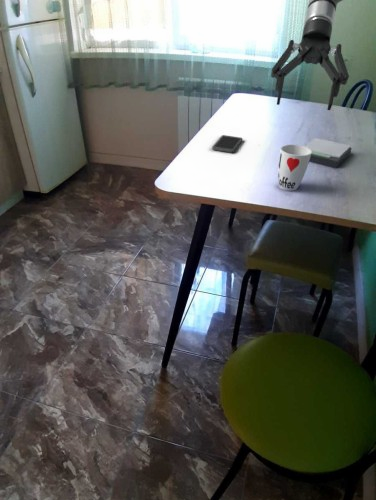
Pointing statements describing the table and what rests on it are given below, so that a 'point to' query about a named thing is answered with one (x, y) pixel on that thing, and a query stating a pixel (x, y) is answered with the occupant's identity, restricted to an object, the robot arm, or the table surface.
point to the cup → (292, 166)
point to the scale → (328, 152)
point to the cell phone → (227, 143)
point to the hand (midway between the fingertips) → (303, 104)
